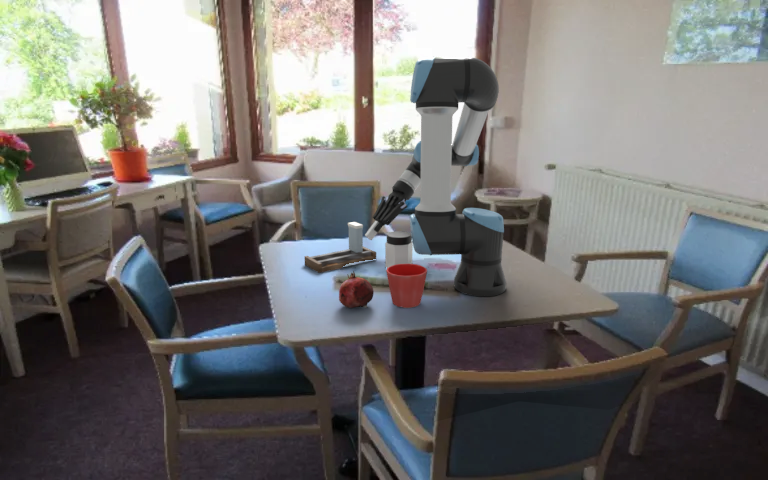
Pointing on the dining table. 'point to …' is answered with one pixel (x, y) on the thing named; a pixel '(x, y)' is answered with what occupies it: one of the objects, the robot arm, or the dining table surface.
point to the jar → (398, 248)
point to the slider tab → (355, 237)
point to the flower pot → (406, 284)
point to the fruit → (355, 292)
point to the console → (337, 259)
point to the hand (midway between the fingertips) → (368, 237)
